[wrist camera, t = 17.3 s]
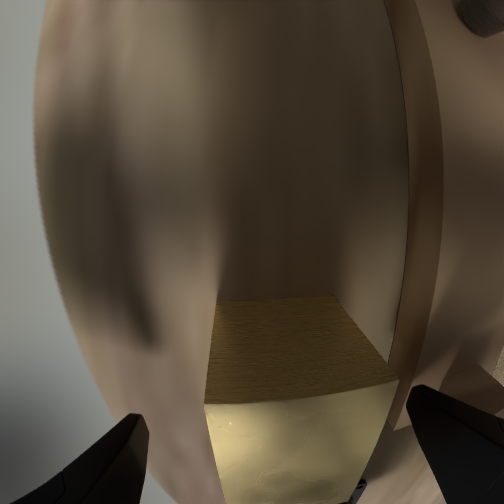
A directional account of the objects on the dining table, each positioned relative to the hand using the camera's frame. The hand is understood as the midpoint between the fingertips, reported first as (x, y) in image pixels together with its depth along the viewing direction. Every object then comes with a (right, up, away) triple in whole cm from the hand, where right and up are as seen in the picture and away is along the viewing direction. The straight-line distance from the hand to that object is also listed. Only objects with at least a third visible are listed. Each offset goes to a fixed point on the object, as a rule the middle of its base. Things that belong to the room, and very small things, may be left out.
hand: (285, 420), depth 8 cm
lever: (+1, +15, -3) cm, 16 cm away
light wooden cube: (0, +1, +3) cm, 3 cm away
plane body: (+8, +7, +1) cm, 11 cm away
